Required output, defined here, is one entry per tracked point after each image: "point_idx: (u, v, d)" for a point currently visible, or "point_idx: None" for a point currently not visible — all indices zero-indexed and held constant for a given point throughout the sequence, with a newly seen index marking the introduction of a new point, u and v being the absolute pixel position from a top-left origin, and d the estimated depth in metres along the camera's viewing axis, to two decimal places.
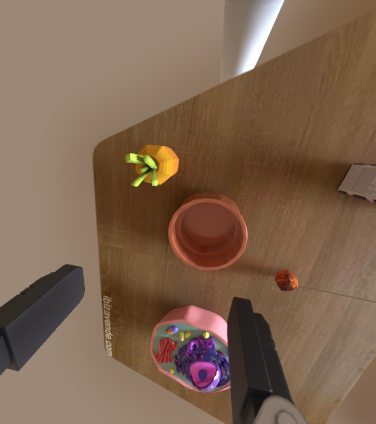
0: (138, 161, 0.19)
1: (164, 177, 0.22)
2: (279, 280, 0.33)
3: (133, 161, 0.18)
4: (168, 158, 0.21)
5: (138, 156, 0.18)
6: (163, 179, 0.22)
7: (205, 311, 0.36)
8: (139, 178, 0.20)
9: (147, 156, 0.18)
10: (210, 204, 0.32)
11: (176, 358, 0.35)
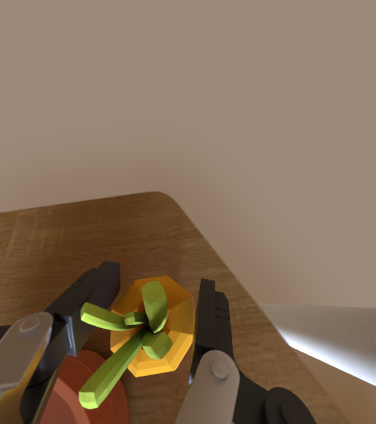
0: (149, 315, 0.07)
1: (127, 364, 0.09)
2: None
3: (146, 306, 0.06)
4: (175, 363, 0.09)
5: (162, 313, 0.07)
6: None
7: None
8: (105, 321, 0.07)
9: (168, 345, 0.06)
10: None
11: None
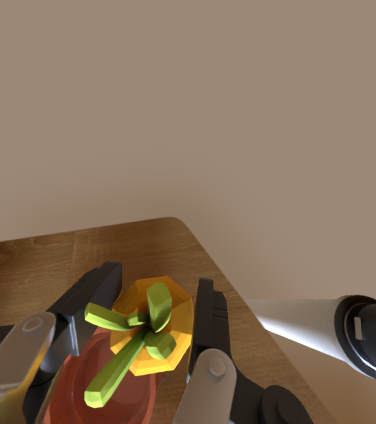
0: (154, 316, 0.07)
1: None
2: None
3: (151, 307, 0.07)
4: (174, 362, 0.09)
5: (166, 314, 0.07)
6: None
7: None
8: (109, 321, 0.07)
9: (172, 346, 0.06)
10: None
11: None
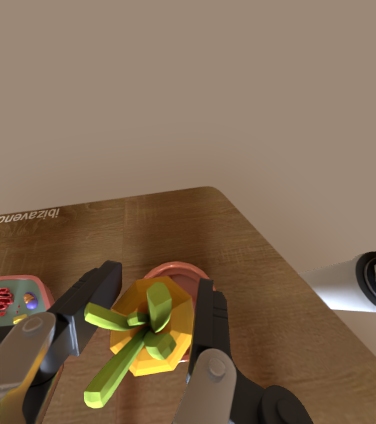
0: (154, 317, 0.07)
1: None
2: None
3: (151, 307, 0.07)
4: (174, 363, 0.09)
5: (166, 314, 0.07)
6: None
7: None
8: (109, 321, 0.07)
9: (172, 346, 0.06)
10: None
11: None
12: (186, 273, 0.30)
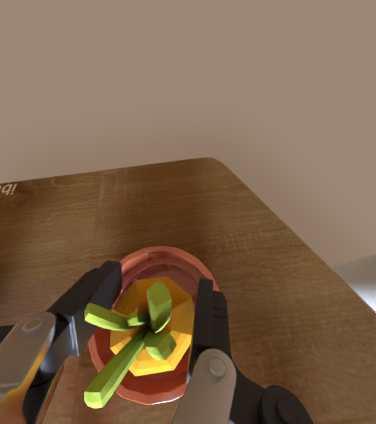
0: (154, 317, 0.07)
1: None
2: None
3: (151, 308, 0.07)
4: (174, 363, 0.09)
5: (166, 314, 0.07)
6: None
7: None
8: (109, 321, 0.07)
9: (172, 347, 0.06)
10: (194, 303, 0.22)
11: None
12: (176, 264, 0.21)
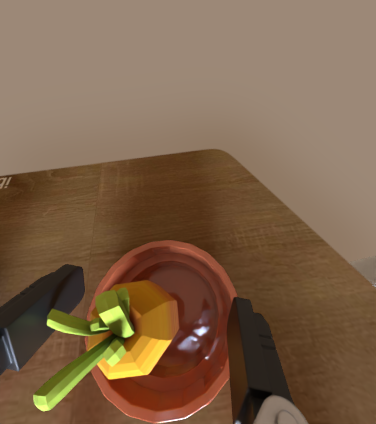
0: None
1: (101, 367, 0.09)
2: None
3: None
4: (146, 368, 0.09)
5: (119, 321, 0.07)
6: (97, 363, 0.09)
7: None
8: (70, 327, 0.07)
9: (120, 354, 0.06)
10: (204, 304, 0.20)
11: None
12: (183, 261, 0.19)
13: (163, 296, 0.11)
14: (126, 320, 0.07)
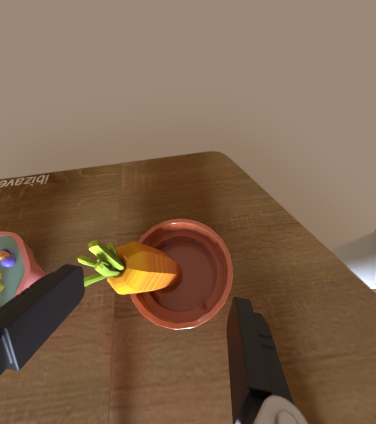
0: (97, 256, 0.14)
1: (113, 287, 0.17)
2: None
3: None
4: (132, 285, 0.16)
5: (102, 254, 0.14)
6: (112, 285, 0.17)
7: None
8: (87, 261, 0.15)
9: (101, 266, 0.14)
10: (206, 268, 0.26)
11: None
12: (191, 235, 0.26)
13: (143, 249, 0.17)
14: (107, 254, 0.14)
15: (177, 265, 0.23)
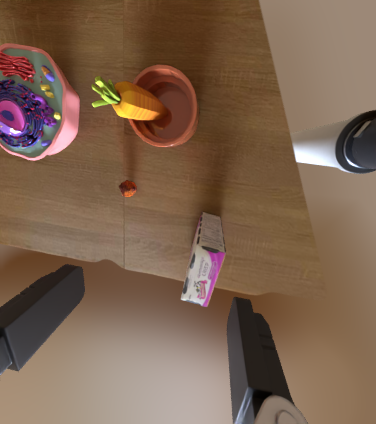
0: (102, 88, 0.24)
1: (115, 110, 0.28)
2: (127, 183, 0.40)
3: (98, 84, 0.24)
4: (125, 112, 0.27)
5: (104, 87, 0.24)
6: (115, 110, 0.29)
7: (77, 117, 0.36)
8: (97, 90, 0.26)
9: (104, 95, 0.24)
10: (187, 115, 0.36)
11: (11, 82, 0.31)
12: (178, 83, 0.32)
13: (132, 89, 0.26)
14: (107, 88, 0.24)
15: (161, 106, 0.32)
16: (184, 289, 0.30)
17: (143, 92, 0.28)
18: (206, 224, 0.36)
